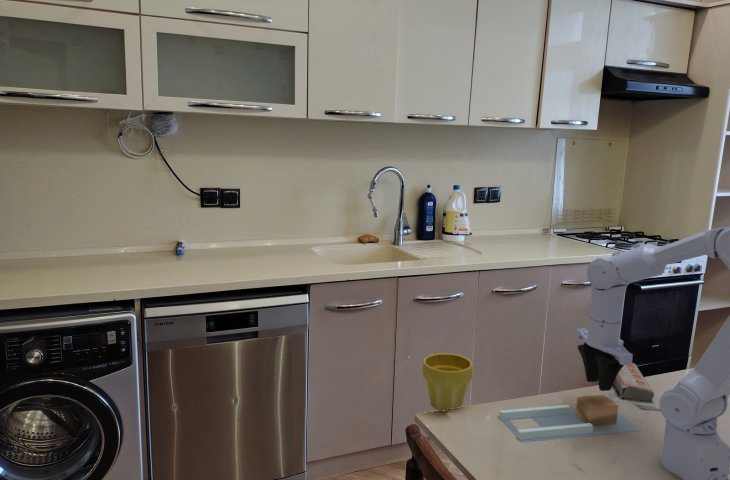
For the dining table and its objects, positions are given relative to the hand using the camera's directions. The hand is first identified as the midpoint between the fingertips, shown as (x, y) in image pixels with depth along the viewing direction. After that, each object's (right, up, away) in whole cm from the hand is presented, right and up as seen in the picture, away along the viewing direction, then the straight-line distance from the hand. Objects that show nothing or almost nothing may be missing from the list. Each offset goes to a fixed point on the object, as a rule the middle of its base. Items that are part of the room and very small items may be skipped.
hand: (598, 385), depth 106 cm
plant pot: (-29, -7, +9) cm, 31 cm away
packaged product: (+14, -7, +18) cm, 23 cm away
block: (0, -7, +2) cm, 7 cm away
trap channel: (-6, -8, 0) cm, 10 cm away
